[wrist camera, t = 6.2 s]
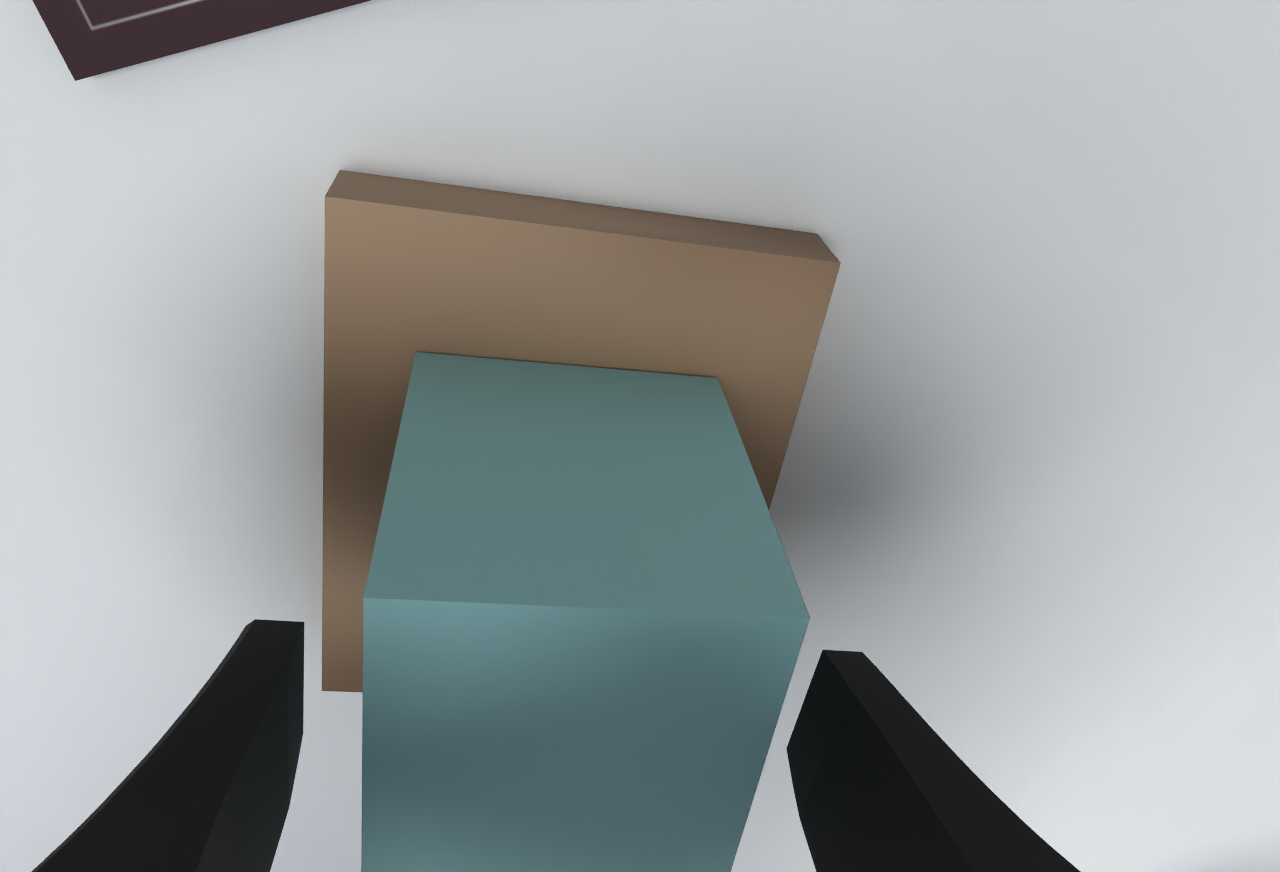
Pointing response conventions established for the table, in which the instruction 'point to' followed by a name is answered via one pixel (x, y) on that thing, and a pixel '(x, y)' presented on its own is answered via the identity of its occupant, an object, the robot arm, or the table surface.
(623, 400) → the teal block
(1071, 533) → the table surface
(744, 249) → the walnut slab
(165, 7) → the chocolate bar
